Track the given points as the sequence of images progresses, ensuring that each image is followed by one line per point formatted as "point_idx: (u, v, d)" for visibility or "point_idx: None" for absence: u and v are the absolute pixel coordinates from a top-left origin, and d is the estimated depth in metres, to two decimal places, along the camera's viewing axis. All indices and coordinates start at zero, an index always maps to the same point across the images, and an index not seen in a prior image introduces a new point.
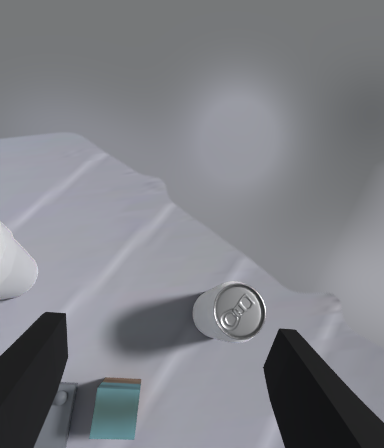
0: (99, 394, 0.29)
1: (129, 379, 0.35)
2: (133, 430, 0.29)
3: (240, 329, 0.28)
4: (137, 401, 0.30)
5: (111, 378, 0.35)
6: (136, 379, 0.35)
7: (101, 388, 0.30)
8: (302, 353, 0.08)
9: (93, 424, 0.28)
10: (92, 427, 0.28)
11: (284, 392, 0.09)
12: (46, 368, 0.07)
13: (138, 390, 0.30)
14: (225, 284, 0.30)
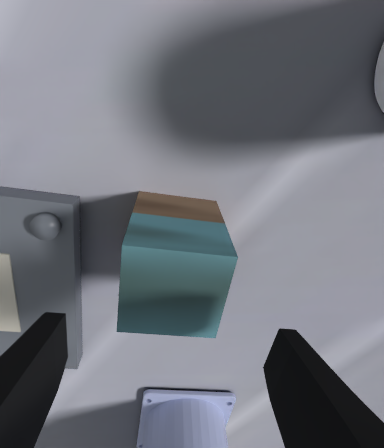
0: (129, 259, 0.11)
1: (192, 201, 0.16)
2: (214, 325, 0.12)
3: None
4: (228, 279, 0.11)
5: (152, 196, 0.15)
6: (207, 202, 0.16)
7: (133, 245, 0.10)
8: (302, 353, 0.08)
9: (122, 311, 0.12)
10: (120, 316, 0.12)
11: (284, 392, 0.09)
12: (46, 368, 0.07)
13: (233, 257, 0.11)
14: None
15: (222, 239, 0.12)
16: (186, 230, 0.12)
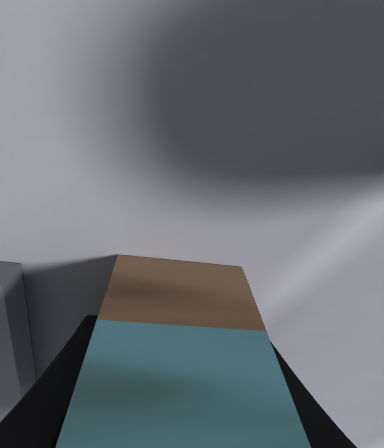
0: None
1: (205, 273, 0.09)
2: None
3: None
4: None
5: (139, 266, 0.09)
6: (228, 272, 0.10)
7: None
8: None
9: None
10: None
11: None
12: None
13: None
14: None
15: (272, 391, 0.06)
16: (199, 368, 0.06)
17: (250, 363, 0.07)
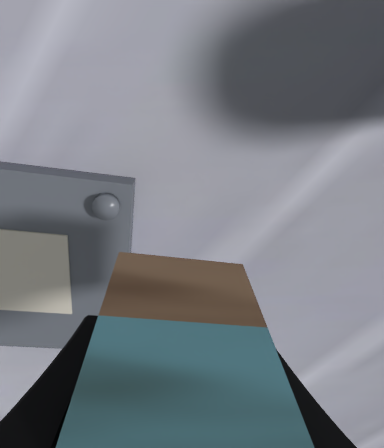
0: None
1: (205, 270, 0.09)
2: None
3: None
4: None
5: (140, 263, 0.09)
6: (229, 269, 0.10)
7: None
8: None
9: None
10: None
11: None
12: None
13: None
14: None
15: (273, 386, 0.06)
16: (200, 363, 0.06)
17: (251, 358, 0.07)
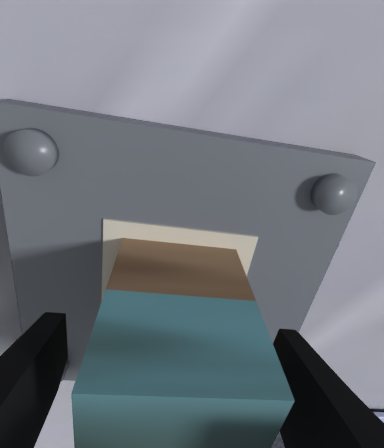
0: (88, 413, 0.06)
1: (202, 254, 0.10)
2: None
3: None
4: (274, 429, 0.06)
5: (142, 247, 0.10)
6: (223, 253, 0.11)
7: (94, 390, 0.05)
8: (302, 353, 0.08)
9: None
10: None
11: None
12: (46, 368, 0.07)
13: (286, 400, 0.06)
14: None
15: (258, 346, 0.07)
16: (195, 328, 0.07)
17: (240, 325, 0.07)
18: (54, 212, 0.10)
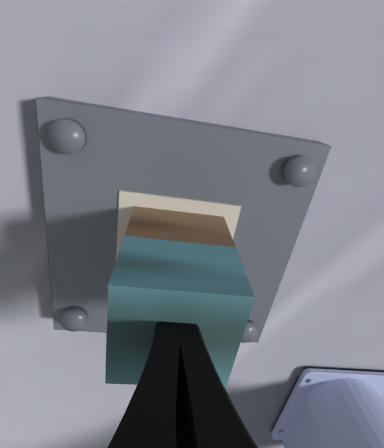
0: (117, 301, 0.08)
1: (196, 218, 0.13)
2: (225, 374, 0.10)
3: None
4: (243, 322, 0.09)
5: (149, 212, 0.13)
6: (213, 218, 0.14)
7: (122, 285, 0.08)
8: (187, 346, 0.08)
9: (111, 361, 0.10)
10: (109, 366, 0.10)
11: None
12: None
13: (249, 297, 0.09)
14: None
15: (234, 270, 0.10)
16: (189, 259, 0.10)
17: (222, 259, 0.10)
18: (81, 185, 0.13)
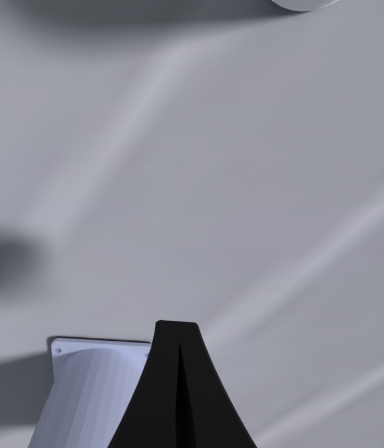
0: None
1: None
2: None
3: None
4: None
5: None
6: None
7: None
8: (186, 346, 0.08)
9: None
10: None
11: None
12: None
13: None
14: None
15: None
16: None
17: None
18: None
